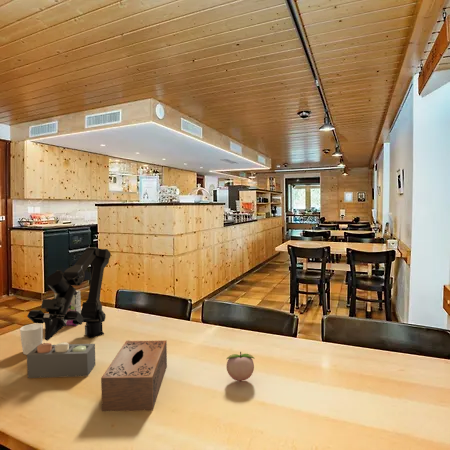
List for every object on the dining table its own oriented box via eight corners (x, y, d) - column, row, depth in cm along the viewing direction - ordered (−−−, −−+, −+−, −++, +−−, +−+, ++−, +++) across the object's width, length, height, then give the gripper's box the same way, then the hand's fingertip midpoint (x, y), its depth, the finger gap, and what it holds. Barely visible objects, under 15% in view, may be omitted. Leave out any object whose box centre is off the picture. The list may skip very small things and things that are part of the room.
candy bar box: (54, 325, 164) (53, 292, 163) (60, 322, 169) (59, 289, 168) (76, 326, 163) (75, 292, 162) (82, 322, 168) (80, 290, 167)
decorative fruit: (231, 390, 106) (230, 359, 106) (224, 377, 114) (223, 348, 113) (258, 386, 109) (258, 355, 108) (250, 373, 117) (250, 345, 116)
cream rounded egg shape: (58, 354, 121) (58, 342, 121) (71, 354, 121) (70, 342, 121) (53, 360, 117) (52, 347, 116) (66, 360, 117) (65, 347, 116)
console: (39, 366, 123) (38, 345, 122) (95, 364, 124) (94, 343, 123) (27, 377, 115) (26, 355, 114) (87, 376, 116) (87, 353, 115)
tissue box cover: (126, 367, 122) (126, 340, 121) (166, 367, 122) (166, 340, 121) (102, 412, 96) (101, 378, 95) (152, 411, 96) (152, 377, 96)
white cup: (26, 357, 130) (25, 332, 129) (17, 352, 135) (16, 327, 134) (47, 350, 136) (46, 326, 136) (38, 345, 141) (37, 322, 140)
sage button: (76, 358, 121) (75, 345, 121) (88, 357, 122) (88, 345, 121) (71, 363, 117) (70, 351, 117) (84, 363, 117) (83, 350, 117)
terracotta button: (41, 355, 121) (41, 343, 120) (54, 354, 121) (53, 342, 121) (35, 361, 116) (34, 348, 116) (48, 360, 116) (47, 347, 116)
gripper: (29, 288, 123) (8, 329, 113) (78, 289, 121) (61, 331, 111) (43, 303, 131) (25, 342, 121) (89, 304, 129) (75, 344, 119)
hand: (46, 340), depth 118 cm, fingers closed
